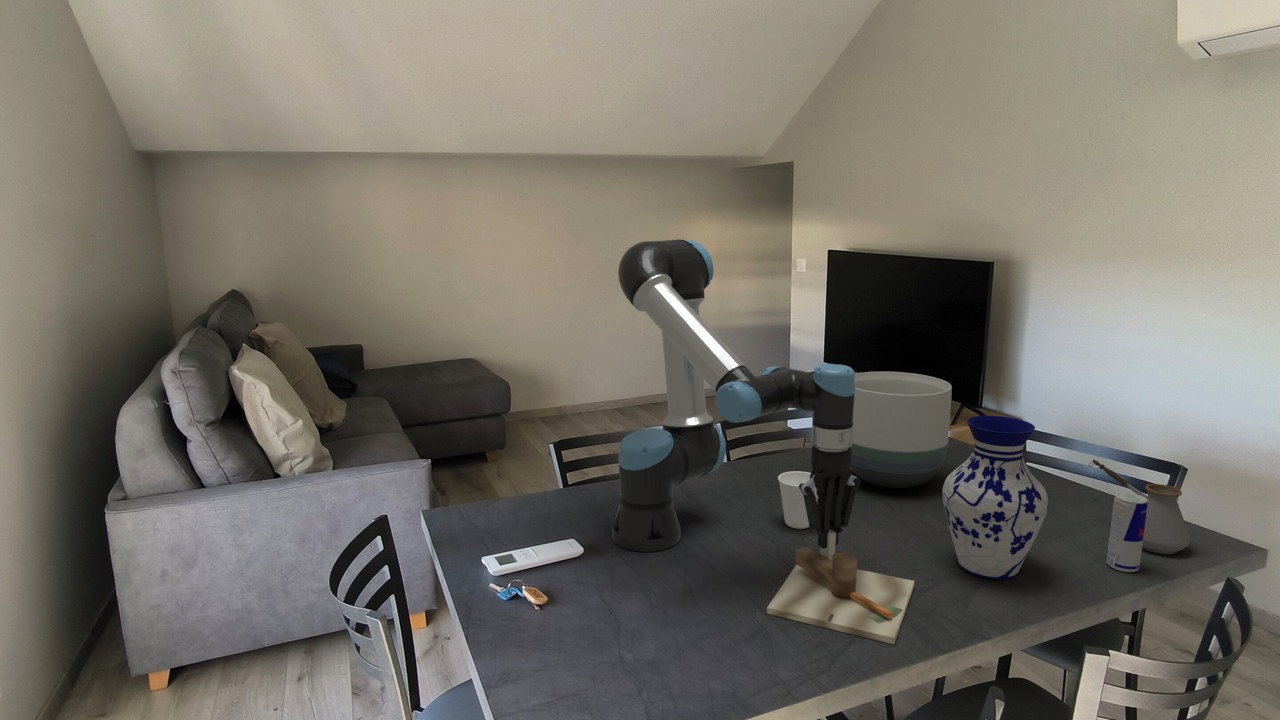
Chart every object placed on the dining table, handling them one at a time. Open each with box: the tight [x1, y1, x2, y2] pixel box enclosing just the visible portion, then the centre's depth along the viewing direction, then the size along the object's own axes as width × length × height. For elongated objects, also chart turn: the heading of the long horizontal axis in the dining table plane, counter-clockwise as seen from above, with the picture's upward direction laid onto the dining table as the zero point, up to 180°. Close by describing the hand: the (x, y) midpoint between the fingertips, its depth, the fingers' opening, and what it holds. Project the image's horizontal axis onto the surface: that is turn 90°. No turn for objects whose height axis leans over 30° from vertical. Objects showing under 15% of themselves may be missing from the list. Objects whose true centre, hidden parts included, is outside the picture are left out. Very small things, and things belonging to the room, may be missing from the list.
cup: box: [777, 470, 818, 530], centre depth 174 cm, size 10×10×11 cm
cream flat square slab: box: [766, 564, 915, 645], centre depth 141 cm, size 22×22×1 cm
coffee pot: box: [1088, 459, 1192, 555], centre depth 165 cm, size 21×12×15 cm, turn 29°
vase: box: [942, 415, 1049, 581], centre depth 151 cm, size 19×19×30 cm
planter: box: [850, 371, 953, 489], centre depth 198 cm, size 27×27×27 cm
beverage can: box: [1106, 491, 1148, 573], centre depth 152 cm, size 6×6×15 cm
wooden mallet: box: [794, 546, 893, 619], centre depth 141 cm, size 22×4×7 cm, turn 32°
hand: (827, 561), depth 149 cm, fingers closed
